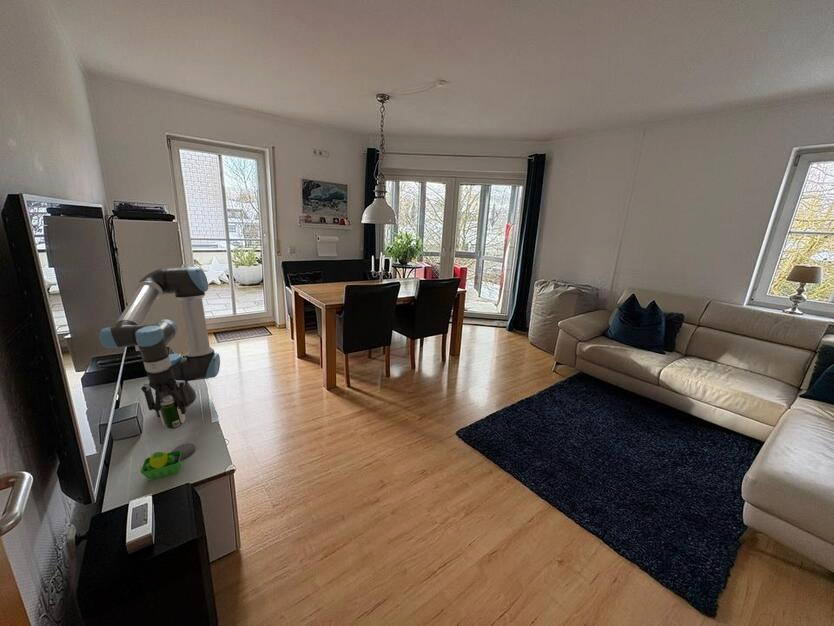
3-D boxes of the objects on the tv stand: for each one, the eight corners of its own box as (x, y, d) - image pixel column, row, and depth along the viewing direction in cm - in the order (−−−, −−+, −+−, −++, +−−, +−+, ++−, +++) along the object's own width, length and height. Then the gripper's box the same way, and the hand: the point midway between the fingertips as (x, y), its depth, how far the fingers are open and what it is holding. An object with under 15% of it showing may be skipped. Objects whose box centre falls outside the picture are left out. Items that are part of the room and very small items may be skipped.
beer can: (186, 423, 134) (179, 397, 129) (171, 431, 129) (163, 404, 125) (179, 419, 136) (172, 393, 132) (164, 426, 132) (156, 400, 128)
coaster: (175, 447, 140) (175, 445, 140) (197, 443, 142) (197, 441, 142) (167, 461, 133) (167, 459, 133) (191, 457, 135) (190, 455, 134)
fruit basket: (184, 459, 134) (177, 436, 130) (180, 476, 126) (173, 452, 122) (149, 468, 130) (140, 444, 126) (142, 486, 122) (133, 461, 118)
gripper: (123, 377, 119) (142, 432, 127) (184, 370, 123) (198, 424, 131) (134, 366, 125) (151, 419, 134) (191, 360, 130) (204, 412, 138)
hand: (174, 421), depth 132 cm, fingers closed on beer can, 5 cm apart
